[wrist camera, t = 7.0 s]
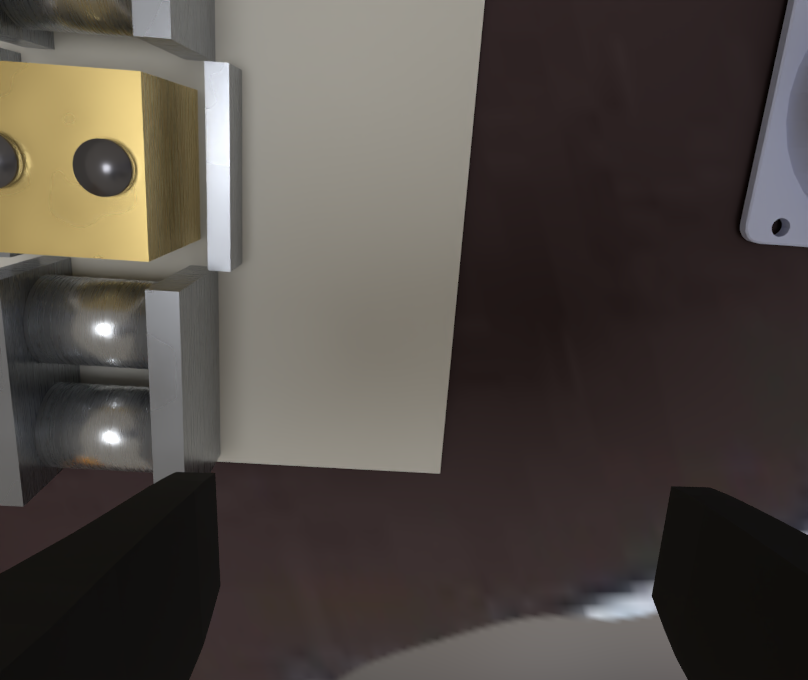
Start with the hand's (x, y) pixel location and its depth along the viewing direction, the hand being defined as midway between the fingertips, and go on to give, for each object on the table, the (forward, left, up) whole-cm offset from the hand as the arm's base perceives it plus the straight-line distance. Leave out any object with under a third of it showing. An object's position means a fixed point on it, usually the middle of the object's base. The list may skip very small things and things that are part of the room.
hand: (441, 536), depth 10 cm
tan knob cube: (+9, -5, -10) cm, 14 cm away
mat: (+6, -5, -10) cm, 13 cm away
